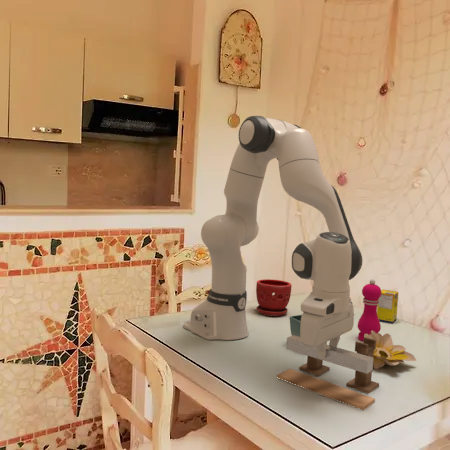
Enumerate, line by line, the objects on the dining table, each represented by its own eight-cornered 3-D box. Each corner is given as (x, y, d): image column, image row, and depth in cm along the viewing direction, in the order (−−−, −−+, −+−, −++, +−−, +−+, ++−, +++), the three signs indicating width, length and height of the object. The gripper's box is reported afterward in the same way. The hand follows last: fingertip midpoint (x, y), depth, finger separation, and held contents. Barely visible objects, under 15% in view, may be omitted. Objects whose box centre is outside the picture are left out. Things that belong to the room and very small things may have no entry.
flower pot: (304, 353, 146) (305, 324, 145) (287, 344, 153) (288, 315, 152) (327, 350, 150) (329, 321, 149) (309, 340, 158) (311, 313, 157)
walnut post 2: (346, 386, 124) (349, 340, 123) (357, 379, 129) (360, 335, 128) (368, 393, 121) (372, 347, 119) (378, 386, 125) (382, 341, 124)
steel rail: (286, 349, 127) (286, 337, 127) (292, 346, 129) (293, 335, 129) (366, 373, 113) (367, 361, 112) (372, 370, 115) (373, 357, 115)
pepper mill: (380, 344, 157) (385, 282, 154) (357, 342, 158) (361, 280, 156) (378, 337, 164) (383, 278, 161) (355, 335, 165) (360, 276, 163)
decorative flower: (387, 373, 129) (384, 334, 130) (354, 368, 138) (351, 332, 139) (422, 367, 137) (419, 330, 139) (388, 363, 147) (386, 328, 148)
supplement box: (396, 320, 185) (398, 291, 183) (392, 324, 179) (394, 294, 178) (380, 317, 188) (382, 288, 186) (376, 320, 183) (378, 291, 181)
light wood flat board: (276, 377, 128) (276, 374, 127) (289, 371, 132) (289, 368, 132) (363, 410, 112) (363, 406, 112) (374, 401, 116) (375, 398, 116)
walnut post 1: (298, 369, 134) (301, 327, 132) (310, 363, 138) (313, 322, 137) (318, 376, 130) (321, 332, 128) (329, 370, 134) (332, 327, 133)
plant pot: (291, 318, 180) (293, 286, 179) (255, 317, 181) (257, 285, 179) (287, 309, 193) (289, 278, 192) (254, 307, 194) (255, 277, 192)
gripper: (339, 291, 129) (336, 342, 131) (296, 305, 114) (293, 362, 115) (361, 295, 125) (358, 348, 127) (320, 310, 110) (317, 370, 111)
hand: (327, 355), depth 121 cm, fingers closed on steel rail, 3 cm apart
